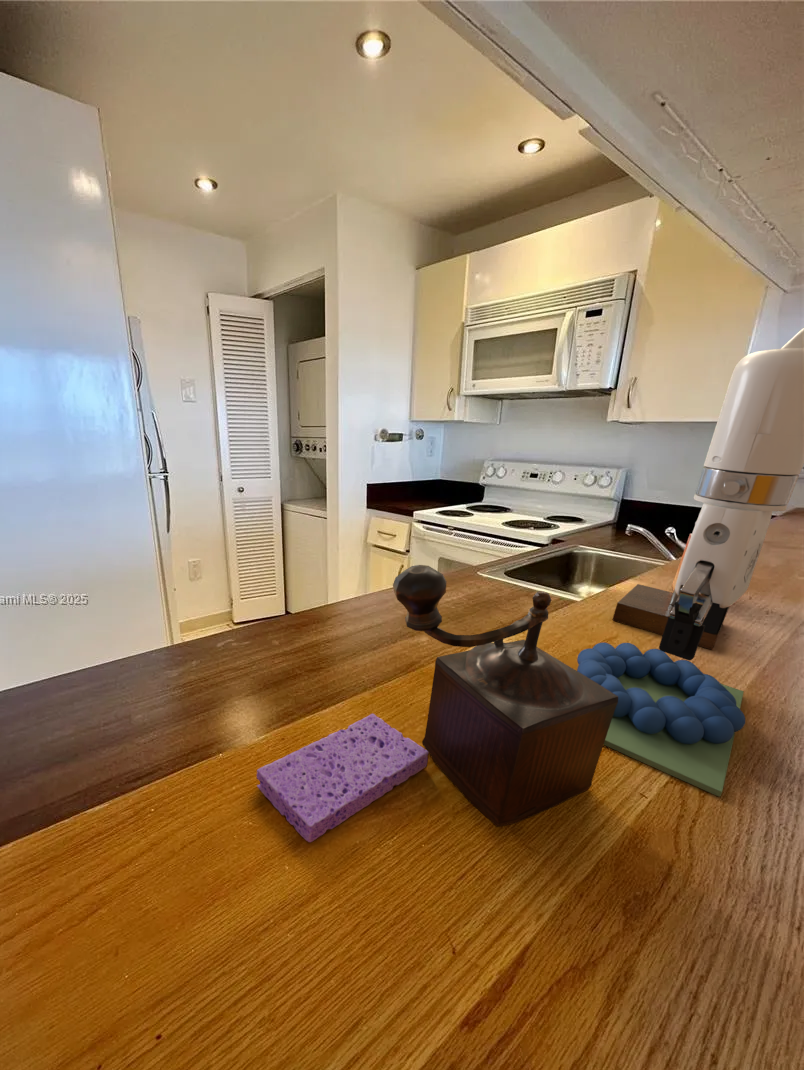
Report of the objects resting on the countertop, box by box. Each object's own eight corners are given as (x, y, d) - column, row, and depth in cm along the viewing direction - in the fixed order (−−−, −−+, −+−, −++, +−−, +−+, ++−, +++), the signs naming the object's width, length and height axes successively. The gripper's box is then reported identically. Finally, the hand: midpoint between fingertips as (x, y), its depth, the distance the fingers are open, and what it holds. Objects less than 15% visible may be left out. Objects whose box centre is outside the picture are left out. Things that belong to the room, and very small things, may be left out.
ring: (774, 763, 43) (787, 738, 42) (604, 738, 45) (612, 713, 44) (681, 666, 60) (689, 646, 59) (559, 650, 61) (564, 631, 60)
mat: (605, 649, 64) (606, 645, 64) (742, 695, 55) (744, 691, 55) (543, 717, 48) (544, 713, 48) (719, 797, 40) (722, 792, 39)
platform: (632, 599, 83) (641, 570, 81) (722, 623, 75) (735, 591, 73) (612, 620, 74) (621, 587, 72) (712, 650, 66) (726, 614, 64)
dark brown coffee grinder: (501, 715, 48) (537, 545, 42) (593, 790, 39) (659, 589, 33) (367, 755, 42) (384, 560, 35) (441, 856, 33) (485, 620, 26)
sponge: (427, 769, 40) (430, 751, 40) (307, 847, 33) (308, 826, 32) (371, 727, 45) (373, 711, 45) (255, 786, 37) (255, 768, 37)
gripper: (772, 504, 39) (706, 681, 46) (805, 488, 50) (747, 633, 56) (671, 490, 44) (624, 651, 51) (721, 478, 55) (677, 612, 62)
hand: (689, 641), depth 54 cm, fingers open, 9 cm apart
